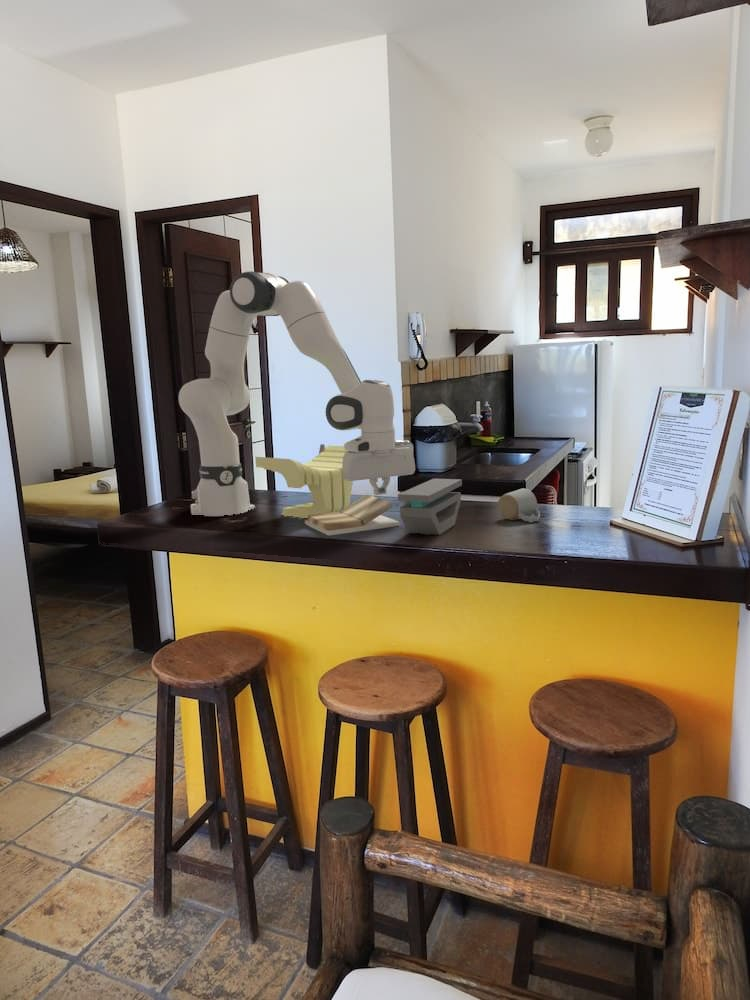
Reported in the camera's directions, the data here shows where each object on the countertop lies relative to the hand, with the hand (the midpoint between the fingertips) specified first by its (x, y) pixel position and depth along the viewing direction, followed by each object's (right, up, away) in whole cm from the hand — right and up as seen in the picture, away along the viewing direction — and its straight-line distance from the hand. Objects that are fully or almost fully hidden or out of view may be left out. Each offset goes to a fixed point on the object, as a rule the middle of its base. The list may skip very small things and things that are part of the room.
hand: (380, 494), depth 188 cm
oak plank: (-12, -9, -5) cm, 15 cm away
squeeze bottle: (-17, -2, +32) cm, 36 cm away
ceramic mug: (+37, -7, -2) cm, 38 cm away
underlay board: (-8, -8, -2) cm, 11 cm away
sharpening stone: (+13, -9, -10) cm, 19 cm away
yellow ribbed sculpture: (-18, -6, +14) cm, 23 cm away
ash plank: (-4, -5, -1) cm, 6 cm away
